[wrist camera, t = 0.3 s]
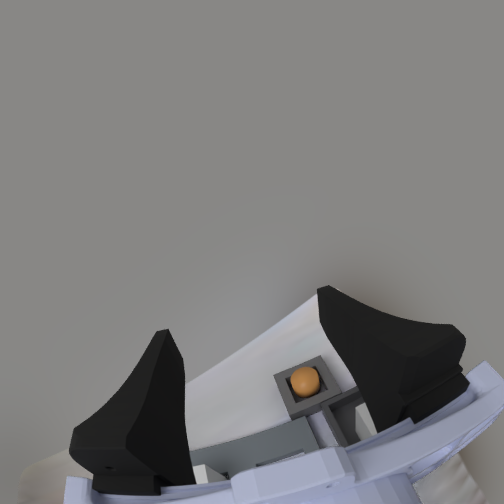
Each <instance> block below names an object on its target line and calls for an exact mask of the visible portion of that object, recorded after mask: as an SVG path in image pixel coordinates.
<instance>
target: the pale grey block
mask: <svg viewBox="0 0 504 504" xmlns="http://www.w3.org/2000/svg"><path fill="white" fill-rule="evenodd" d="M356 433H357V435H358V437H359V438H360V440H361V441H362V440H365V439H367V438H369V437H371V436H374V435H376V434H377V431H376V428H375V426H374V423H373V421H372V418H371V416H370V413H369V411H368V409H367V406H366V404H365V403H363V404H361V405H359V406H357V407H356Z"/></svg>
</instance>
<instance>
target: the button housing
mask: <svg viewBox="0 0 504 504" xmlns="http://www.w3.org/2000/svg"><path fill="white" fill-rule="evenodd" d="M302 367H311V368H313V369H315V370H316V372H317V373H318V376H319V378H320V380H321V382H322V384H323V386H324V387H325V389H326V391H324V392H322V393H319V394H317V395H315V396H312V397H310V398H308V399H305V400H303V401H301V402H298V403H295V401H294V398H293V396H292V394H291V391H290V389H289V386H292V384H291V376H292V374H293V373H294V372H295V371H296V370H297V369H299V368H302ZM273 376H274V378H275V381H276V383H277V386H278V388H279V391H280V393H281V396H282V398H283V401H284V403H285V406H286V408H287V411H288V413H289V416H290V418H291V420H292V421H293V420H296V419H298V418H301V417H303V416H305V417H307V416H310V415H312V414H314V413H317V412H319V411H321V410H322V408H321V404H320V403H322V402H325V401H327V400H329V399H331V398H333V397H336V396H338V395H340V394H342V392H341V390H340V388H339V387H338V385H337V383H336V381H335V380H334V378H333V376H332V374H331V373H330V371H329V369H328V367H327V366H326V364H325V362H324V361H323V359H322V357H321V355H320V356H318V357H315V358H313V359H311V360H309V361H306V362H304V363H302V364H299V365H297V366H295V367H292V368H290V369H287V370H285V371H282V372H280V373H277V374H275V375H273Z"/></svg>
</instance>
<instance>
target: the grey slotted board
mask: <svg viewBox="0 0 504 504" xmlns="http://www.w3.org/2000/svg"><path fill="white" fill-rule="evenodd" d="M319 449H320V448H319V446H318V444H317V441H316V439H315V437H314V435H313V432H312V430H311V428H310V426H309V423H308V421H307V419H306V417H305V416H303V417H301V418H298V419H296V420H293V421H291V422H288V423H285V424H283V425H280V426H277V427H274V428H272V429H269V430H266V431H263V432H260V433H257V434H254V435H251V436H247V437H244V438H241V439H237V440H234V441H230V442H227V443H223V444H219V445H216V446H212V447H208V448H203V449H199V450H195V451H190V457H191V462H192V467H193V466H198V465H203V464H205V465H207V466H208V467H210V468H211V469H213V470H214V471H216V472H218V473H219V474H221V475H223V476H226V475H229V479H230V480H231V478H232V477H233V476H234V475H236V474H238V473H239V472H241V471H245V470H248V469H251V468H255V467H259V466H263V465H266V464H270V463H273V462H276V461H279V460H282V459H285V458H287V457H290V456H293V455H296V454H298V453H301V452H305V454H307V453H310V452H313V451H316V450H319Z"/></svg>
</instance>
